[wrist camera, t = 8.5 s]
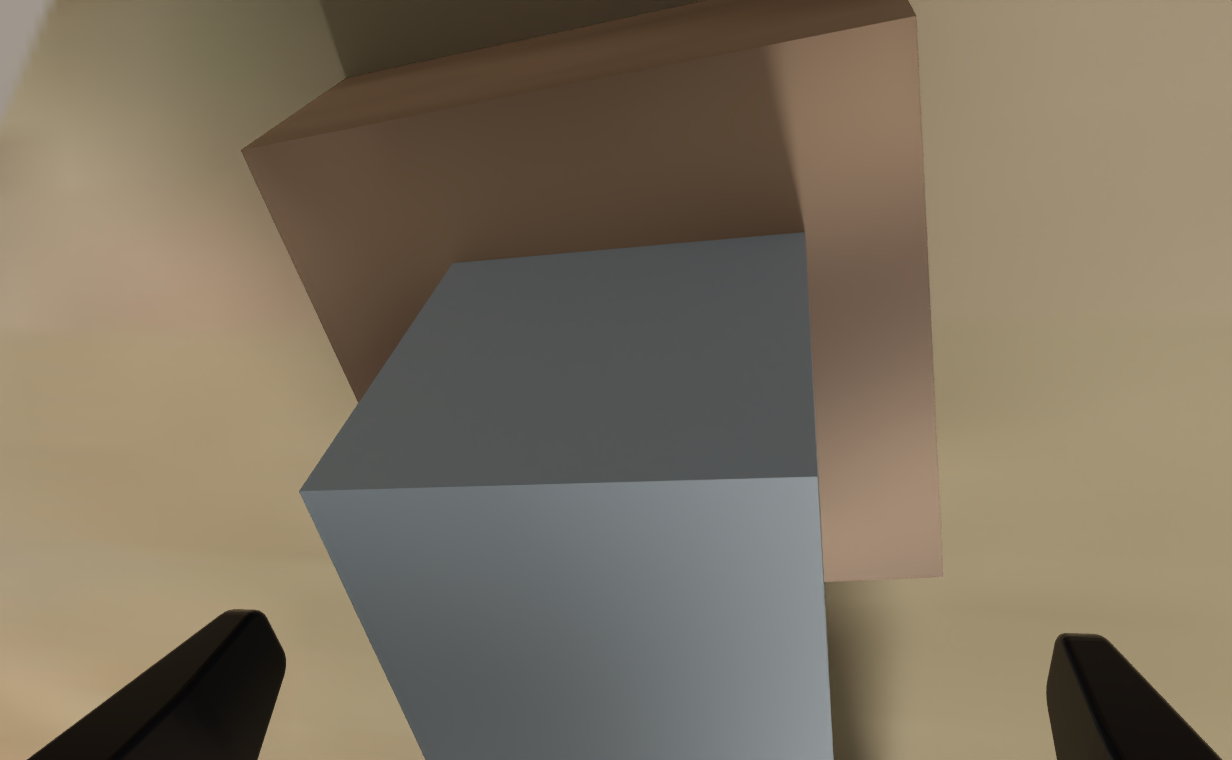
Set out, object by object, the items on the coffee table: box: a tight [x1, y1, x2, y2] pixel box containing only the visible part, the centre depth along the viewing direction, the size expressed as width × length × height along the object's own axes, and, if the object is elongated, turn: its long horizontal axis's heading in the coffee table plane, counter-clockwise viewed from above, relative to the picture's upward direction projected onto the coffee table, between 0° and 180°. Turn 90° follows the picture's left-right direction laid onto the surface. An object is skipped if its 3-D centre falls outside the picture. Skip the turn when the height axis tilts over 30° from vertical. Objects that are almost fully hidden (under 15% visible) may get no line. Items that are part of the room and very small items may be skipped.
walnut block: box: [241, 0, 943, 582], centre depth 15 cm, size 9×9×4 cm
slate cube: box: [299, 232, 834, 760], centre depth 12 cm, size 5×5×5 cm
